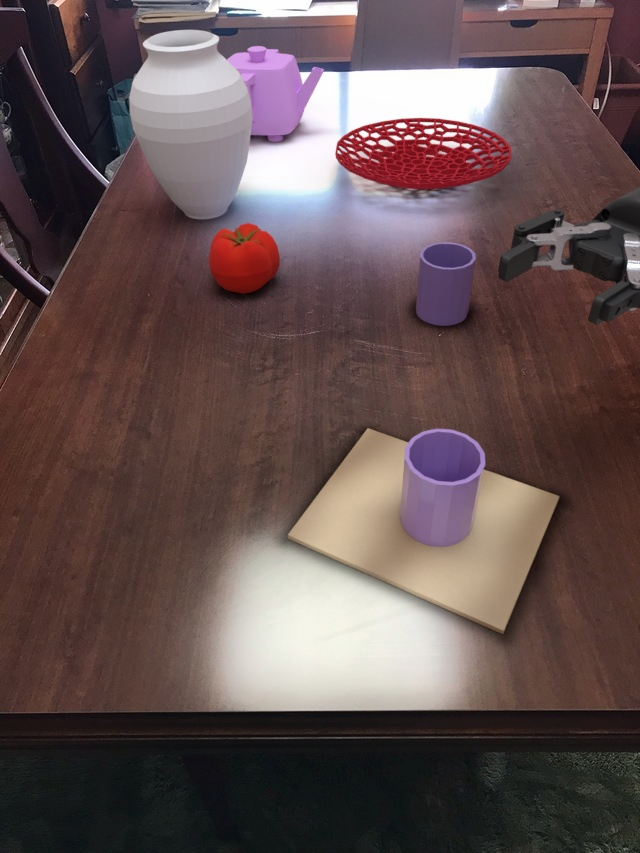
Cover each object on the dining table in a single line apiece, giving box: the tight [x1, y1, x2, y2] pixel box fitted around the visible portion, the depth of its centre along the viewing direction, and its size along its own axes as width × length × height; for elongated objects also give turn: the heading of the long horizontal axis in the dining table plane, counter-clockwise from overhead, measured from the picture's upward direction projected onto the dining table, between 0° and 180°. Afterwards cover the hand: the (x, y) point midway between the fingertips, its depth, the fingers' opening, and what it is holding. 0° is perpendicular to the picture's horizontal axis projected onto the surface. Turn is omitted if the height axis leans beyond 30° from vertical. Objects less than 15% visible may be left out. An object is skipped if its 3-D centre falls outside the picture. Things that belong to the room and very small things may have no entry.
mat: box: [287, 427, 560, 635], centre depth 63 cm, size 20×16×1 cm
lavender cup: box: [400, 428, 486, 547], centre depth 60 cm, size 7×7×8 cm
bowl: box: [334, 117, 513, 190], centre depth 117 cm, size 29×30×5 cm
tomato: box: [208, 222, 281, 295], centre depth 92 cm, size 9×9×8 cm
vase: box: [128, 29, 252, 220], centre depth 103 cm, size 18×18×25 cm
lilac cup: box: [415, 241, 477, 327], centre depth 86 cm, size 7×7×8 cm
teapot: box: [226, 45, 325, 143], centre depth 132 cm, size 19×18×15 cm
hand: (546, 290), depth 54 cm, fingers open, 8 cm apart
